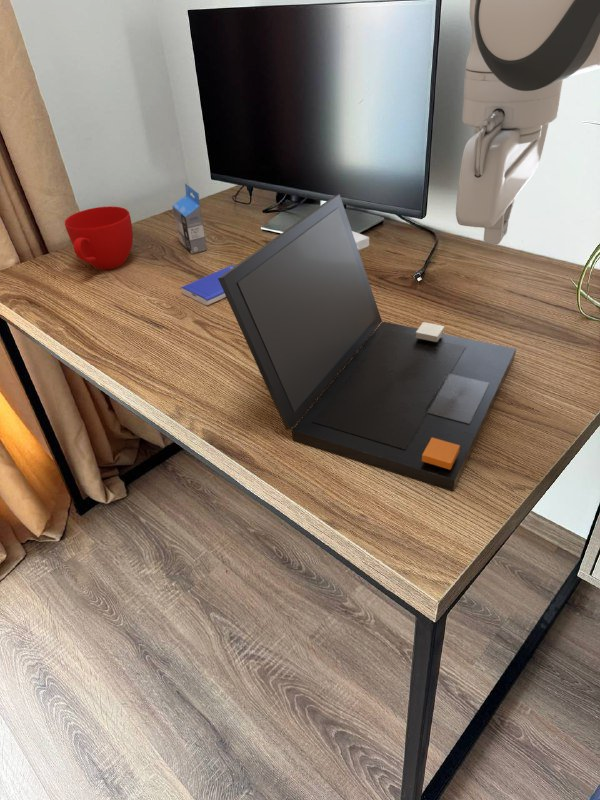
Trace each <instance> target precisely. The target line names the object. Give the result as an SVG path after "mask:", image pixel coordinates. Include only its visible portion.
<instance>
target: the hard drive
mask: <svg viewBox="0 0 600 800" xmlns="http://www.w3.org/2000/svg"><path fill="white" fill-rule="evenodd" d="M235 266H236V265H234V264H231V265H229V266H227V267H224V268H222V269H220V270H217V271H215V272H212V273H210V274H208V275H206V276H203V277H202V278H199V279H197V280H195V281H194V280H193V281H192V282H190V283H187V284H186V285H182V286H181V287H180V290H181V293H182V295H184V296H186V297H188V298H190V299H192V300H194V301H196V302H198V303H200V304H203V305H204V306H209V305H212V304H213V303H214V304H215V303H216V302H218V301H221V300H223V299H225V298H227V297H226V295H225V293H224V291H223V289H222V286H221V284H220V282H219V280H218V278H219V277H221V276H222V275H224V274H225V273H226V272H228V271H229V270H231V269H232V268H233V267H235Z"/></svg>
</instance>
